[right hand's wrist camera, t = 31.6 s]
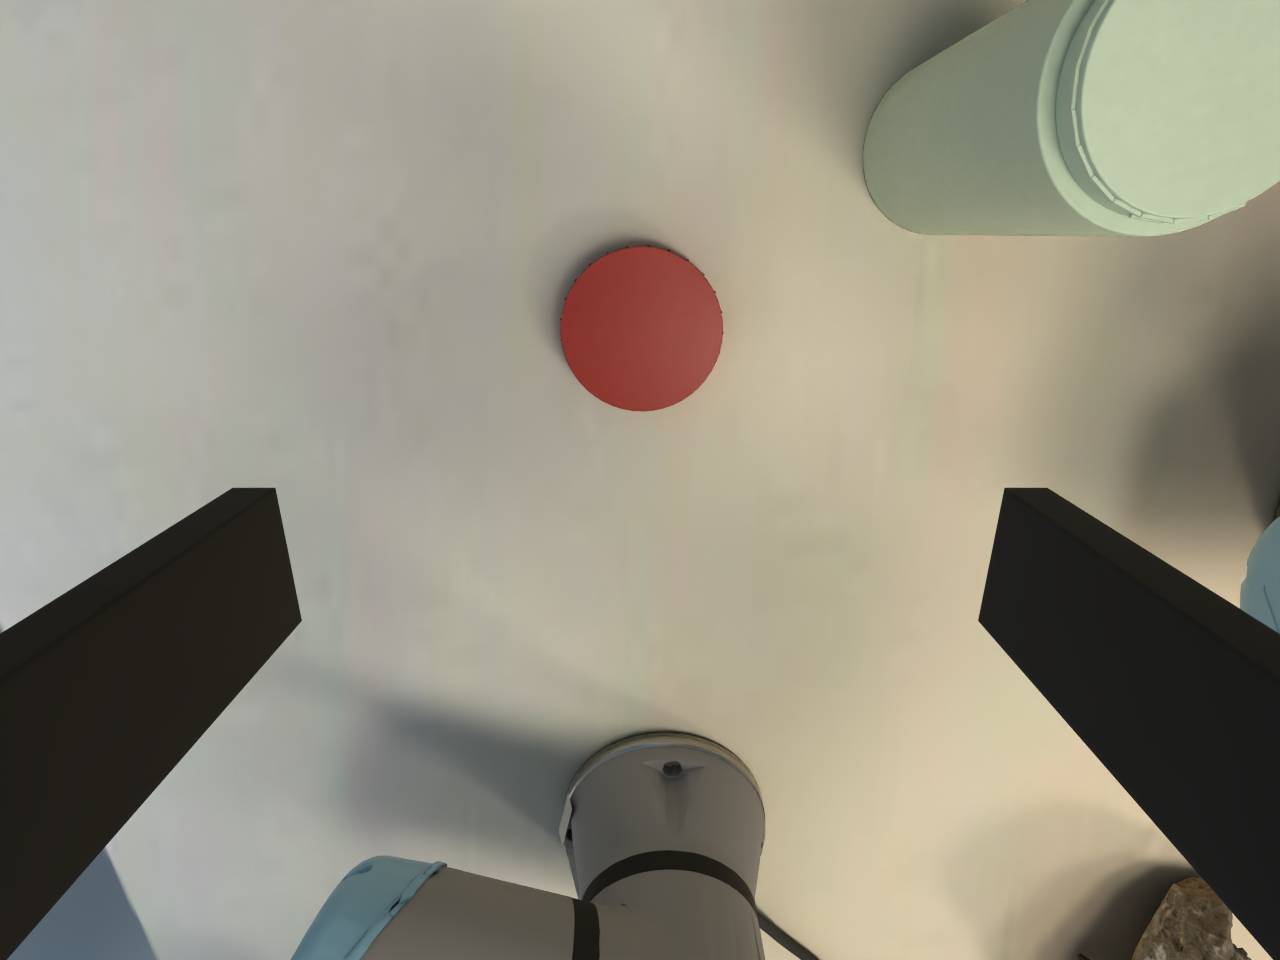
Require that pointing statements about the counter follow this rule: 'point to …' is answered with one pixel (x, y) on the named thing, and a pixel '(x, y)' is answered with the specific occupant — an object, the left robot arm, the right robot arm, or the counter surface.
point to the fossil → (1189, 927)
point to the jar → (1084, 121)
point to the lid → (641, 328)
